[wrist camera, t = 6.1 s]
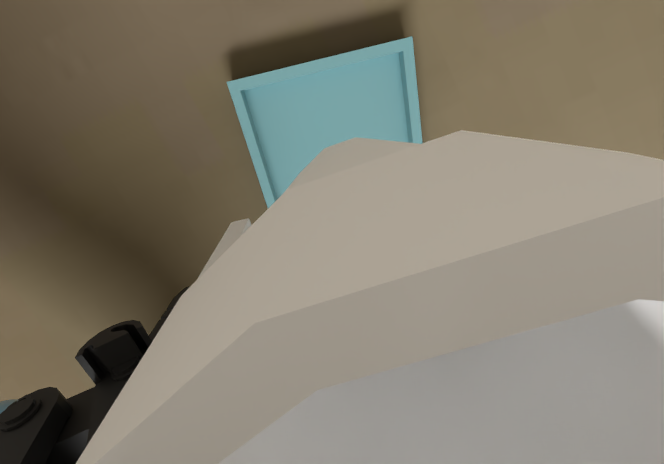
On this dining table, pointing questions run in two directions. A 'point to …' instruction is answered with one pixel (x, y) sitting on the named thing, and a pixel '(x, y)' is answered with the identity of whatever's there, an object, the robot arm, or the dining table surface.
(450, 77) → the dining table surface
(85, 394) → the robot arm
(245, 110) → the tray
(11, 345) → the dining table surface
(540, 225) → the foam cup
